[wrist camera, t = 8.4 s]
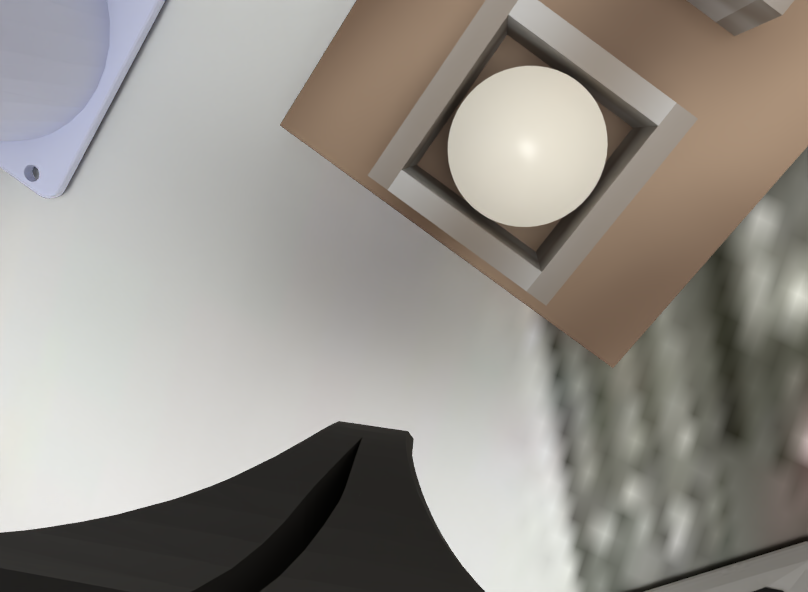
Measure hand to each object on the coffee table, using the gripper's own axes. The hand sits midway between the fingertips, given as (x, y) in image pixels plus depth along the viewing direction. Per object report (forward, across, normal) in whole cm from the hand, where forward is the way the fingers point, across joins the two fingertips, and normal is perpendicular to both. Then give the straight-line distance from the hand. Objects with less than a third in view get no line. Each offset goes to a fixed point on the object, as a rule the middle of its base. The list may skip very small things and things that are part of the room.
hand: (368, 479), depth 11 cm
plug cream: (+9, -2, -6) cm, 11 cm away
